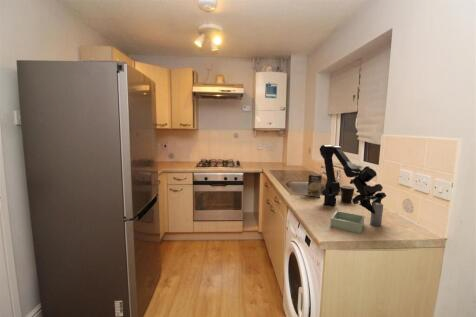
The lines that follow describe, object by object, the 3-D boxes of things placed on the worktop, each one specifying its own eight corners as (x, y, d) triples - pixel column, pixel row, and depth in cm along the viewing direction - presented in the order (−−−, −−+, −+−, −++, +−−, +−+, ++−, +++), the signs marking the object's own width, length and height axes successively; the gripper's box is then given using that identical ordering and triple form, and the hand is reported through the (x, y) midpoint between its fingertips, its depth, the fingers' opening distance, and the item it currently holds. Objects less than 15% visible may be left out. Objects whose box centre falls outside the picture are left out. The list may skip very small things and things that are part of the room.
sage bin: (330, 226, 117) (331, 218, 116) (335, 218, 128) (336, 210, 127) (360, 233, 109) (361, 224, 109) (363, 224, 121) (364, 215, 120)
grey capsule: (369, 224, 120) (371, 204, 118) (370, 221, 124) (372, 201, 122) (381, 227, 117) (383, 206, 116) (381, 224, 121) (383, 203, 120)
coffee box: (307, 196, 169) (308, 174, 167) (307, 194, 175) (308, 173, 173) (320, 197, 166) (321, 175, 164) (320, 195, 172) (321, 174, 170)
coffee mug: (352, 204, 153) (353, 189, 152) (338, 201, 158) (339, 187, 157) (354, 199, 163) (355, 185, 162) (341, 197, 168) (342, 184, 166)
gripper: (358, 179, 118) (376, 207, 109) (384, 177, 125) (403, 203, 116) (345, 190, 127) (360, 217, 118) (370, 188, 133) (386, 213, 124)
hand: (378, 212), depth 119 cm, fingers closed on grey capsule, 5 cm apart
